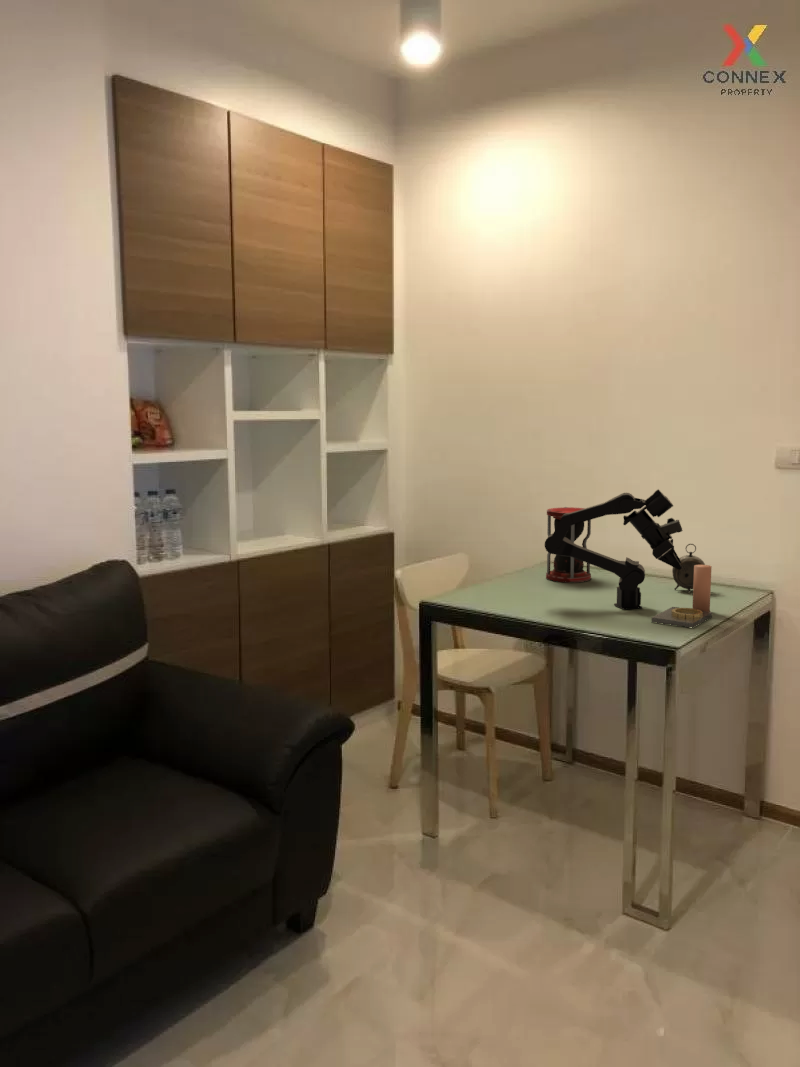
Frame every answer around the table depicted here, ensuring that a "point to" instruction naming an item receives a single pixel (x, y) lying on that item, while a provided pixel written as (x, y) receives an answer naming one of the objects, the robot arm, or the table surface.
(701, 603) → the orange tapered capsule
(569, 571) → the hourglass
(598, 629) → the table surface
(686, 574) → the alarm clock
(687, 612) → the plate
